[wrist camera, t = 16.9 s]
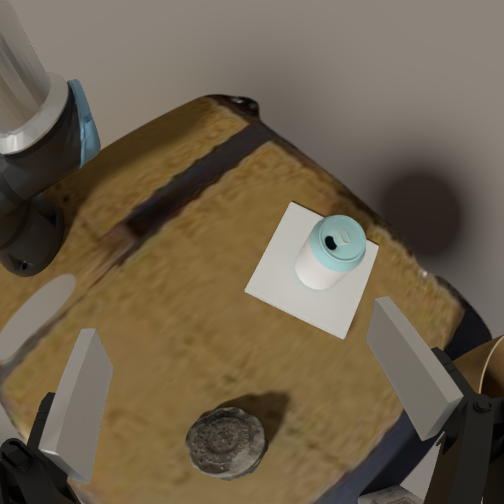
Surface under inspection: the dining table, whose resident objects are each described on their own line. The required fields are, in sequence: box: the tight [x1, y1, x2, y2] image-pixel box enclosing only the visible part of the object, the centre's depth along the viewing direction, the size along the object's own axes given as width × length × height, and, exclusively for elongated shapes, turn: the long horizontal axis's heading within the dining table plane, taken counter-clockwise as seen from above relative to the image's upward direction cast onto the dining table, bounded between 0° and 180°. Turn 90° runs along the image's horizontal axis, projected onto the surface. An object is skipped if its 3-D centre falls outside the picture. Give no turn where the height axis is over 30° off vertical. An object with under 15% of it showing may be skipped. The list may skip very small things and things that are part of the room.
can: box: [295, 215, 366, 290], centre depth 40 cm, size 7×7×12 cm
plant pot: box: [452, 335, 504, 399], centre depth 33 cm, size 15×15×16 cm
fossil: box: [185, 407, 268, 481], centre depth 34 cm, size 11×9×10 cm
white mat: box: [245, 202, 379, 339], centre depth 46 cm, size 16×16×1 cm
